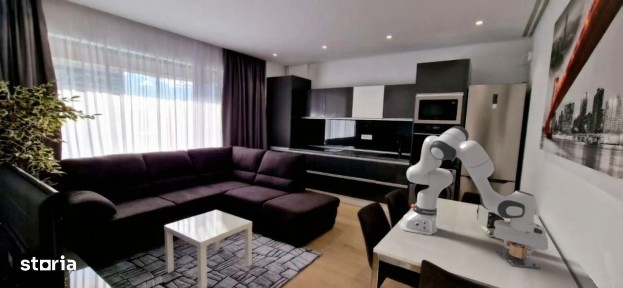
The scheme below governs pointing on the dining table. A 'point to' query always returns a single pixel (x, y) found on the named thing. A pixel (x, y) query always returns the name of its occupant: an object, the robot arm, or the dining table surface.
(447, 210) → the dining table surface
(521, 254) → the wooden faceted bowl
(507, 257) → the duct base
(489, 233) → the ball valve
